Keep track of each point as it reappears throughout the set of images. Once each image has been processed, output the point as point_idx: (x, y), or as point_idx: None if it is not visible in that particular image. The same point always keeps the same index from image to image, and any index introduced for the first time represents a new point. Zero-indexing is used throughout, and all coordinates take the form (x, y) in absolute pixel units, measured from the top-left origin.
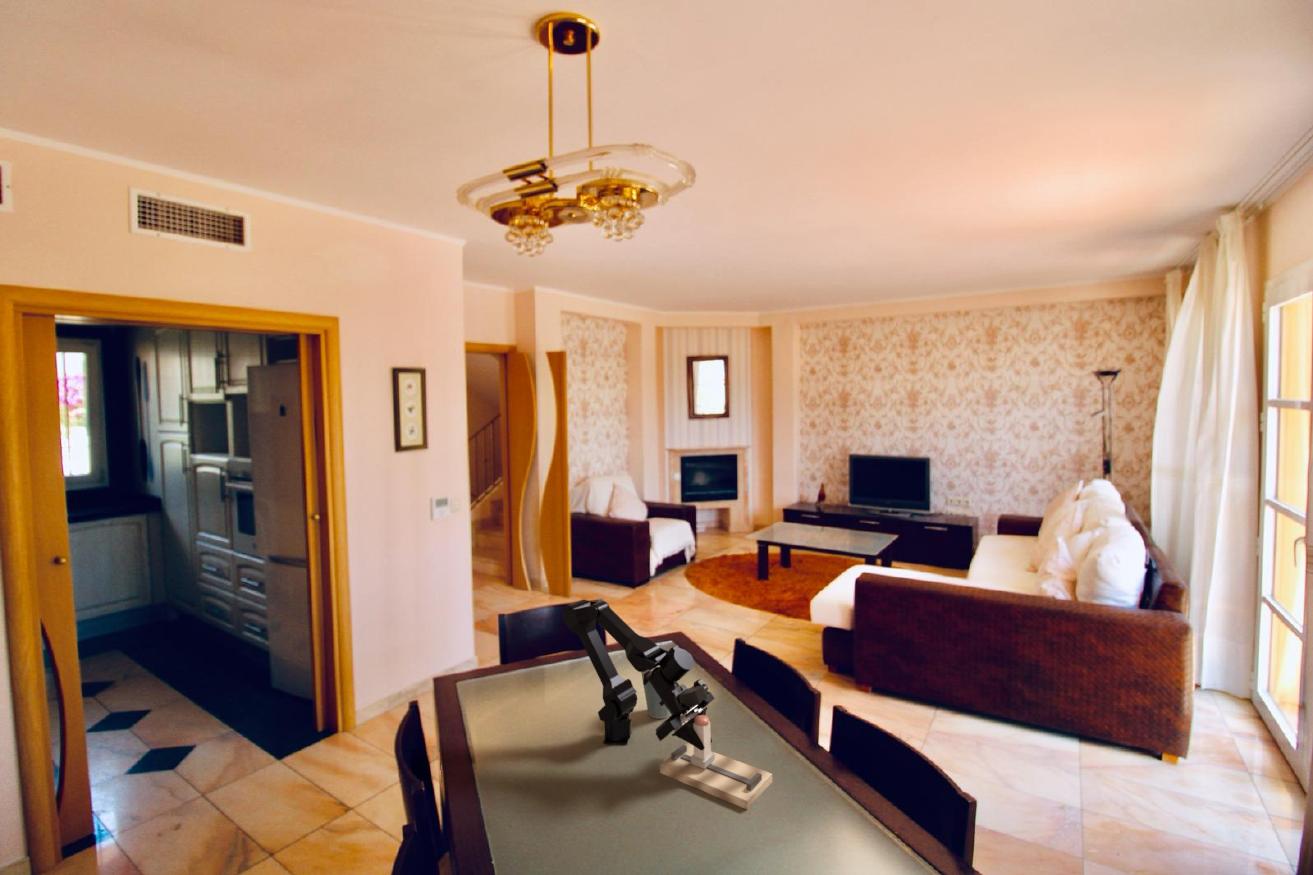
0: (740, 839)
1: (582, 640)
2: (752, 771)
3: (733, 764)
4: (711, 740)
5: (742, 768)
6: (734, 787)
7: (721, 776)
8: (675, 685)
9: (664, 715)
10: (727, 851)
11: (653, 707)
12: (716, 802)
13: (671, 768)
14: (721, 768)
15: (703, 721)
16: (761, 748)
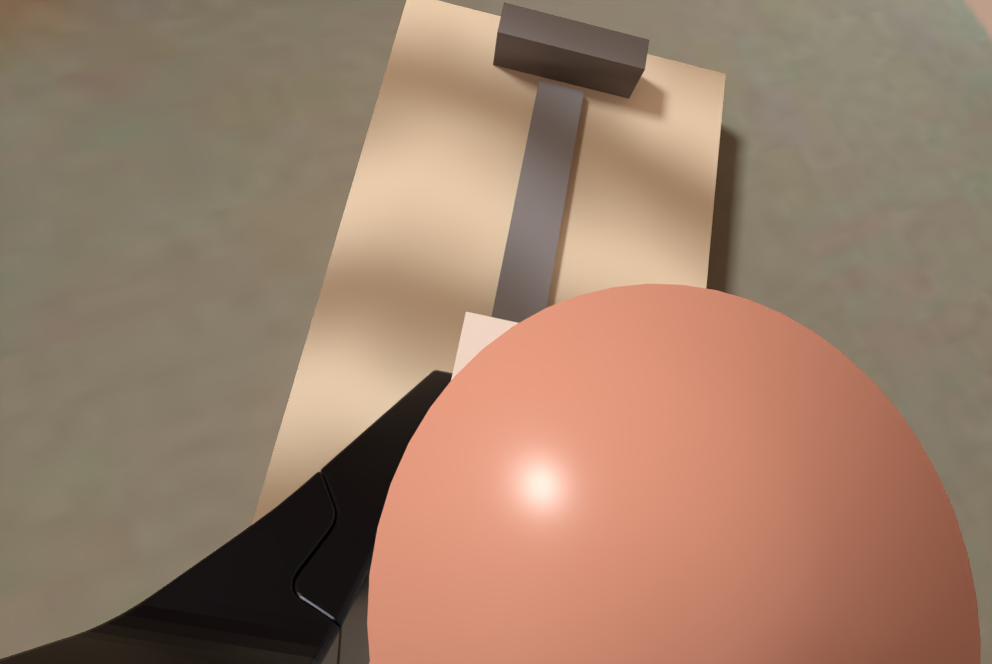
0: (893, 96)
1: None
2: (431, 103)
3: (398, 240)
4: (442, 374)
5: (422, 170)
6: (645, 168)
7: (575, 277)
8: None
9: None
10: (985, 128)
11: None
12: (722, 274)
13: None
14: (496, 301)
15: (840, 411)
16: (31, 163)
